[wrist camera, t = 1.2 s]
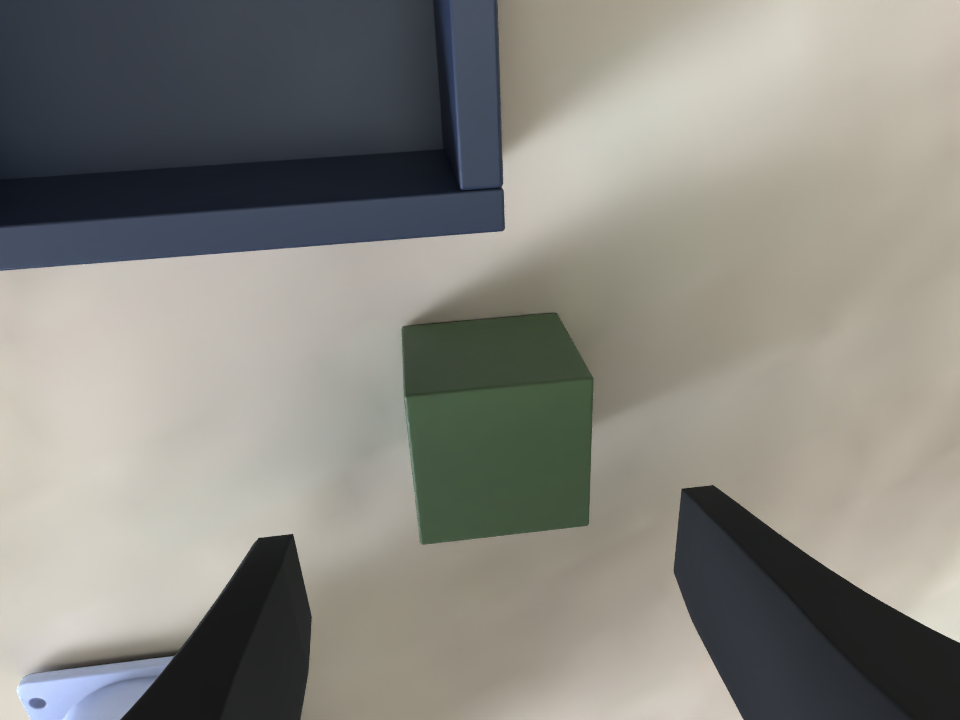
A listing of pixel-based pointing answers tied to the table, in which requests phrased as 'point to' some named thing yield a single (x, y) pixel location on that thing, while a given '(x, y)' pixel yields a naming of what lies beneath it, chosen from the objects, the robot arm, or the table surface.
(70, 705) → the robot arm
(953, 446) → the table surface
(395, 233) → the dark blue open box
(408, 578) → the table surface
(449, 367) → the block
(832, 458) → the table surface
